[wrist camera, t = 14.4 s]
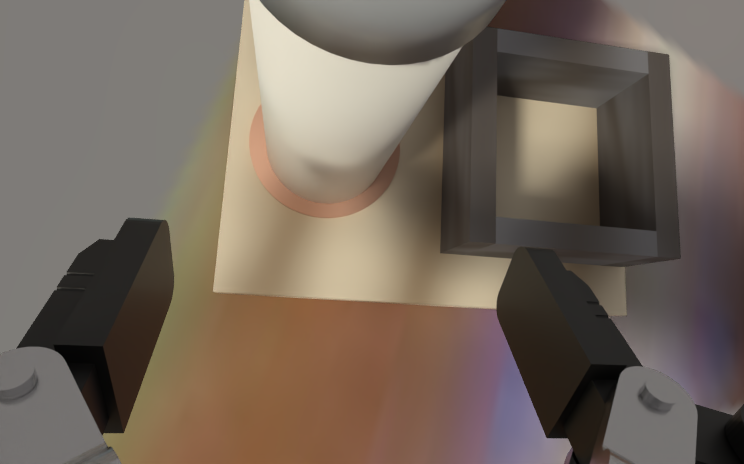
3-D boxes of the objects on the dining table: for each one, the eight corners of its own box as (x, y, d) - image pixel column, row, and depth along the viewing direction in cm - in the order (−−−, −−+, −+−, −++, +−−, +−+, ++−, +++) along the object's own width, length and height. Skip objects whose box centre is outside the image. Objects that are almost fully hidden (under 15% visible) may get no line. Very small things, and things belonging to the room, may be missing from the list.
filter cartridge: (255, 202, 20) (189, -43, 6) (267, 78, 21) (232, -367, 7) (385, 213, 21) (575, 20, 7) (391, 94, 22) (569, -277, 8)
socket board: (218, 293, 21) (197, 286, 16) (248, 14, 23) (237, -66, 18) (605, 315, 24) (688, 316, 19) (598, 65, 26) (670, 8, 21)
